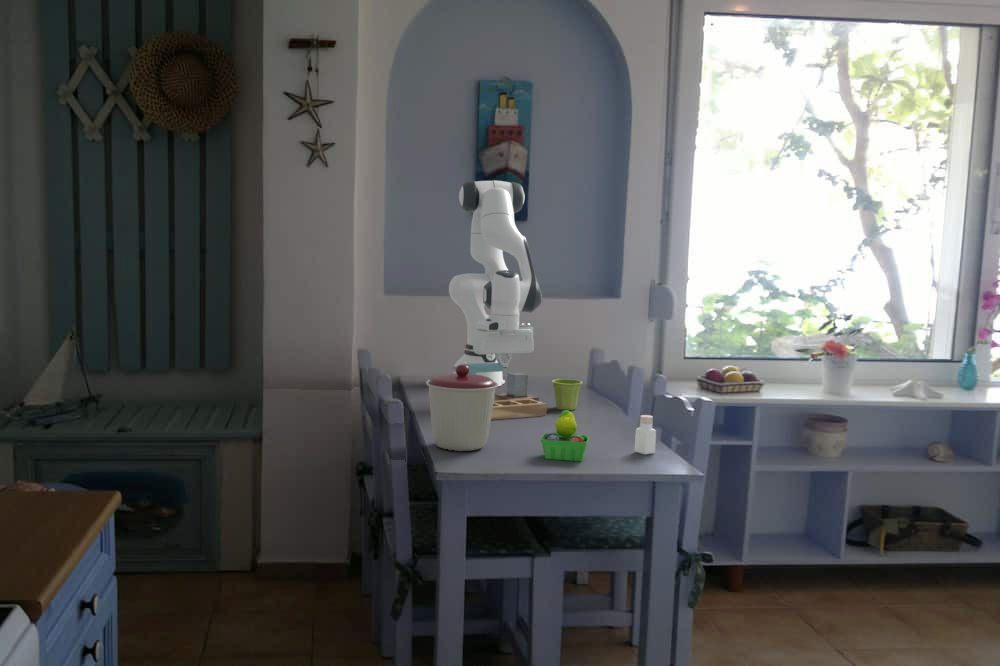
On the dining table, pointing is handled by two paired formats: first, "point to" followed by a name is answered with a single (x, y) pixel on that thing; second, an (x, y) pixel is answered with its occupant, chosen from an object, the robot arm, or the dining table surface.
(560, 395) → the plant pot
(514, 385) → the grey rectangular block
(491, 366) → the plate
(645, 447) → the salt shaker
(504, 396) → the socket frame
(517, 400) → the rack
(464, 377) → the canister
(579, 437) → the fruit basket
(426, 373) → the dining table surface
